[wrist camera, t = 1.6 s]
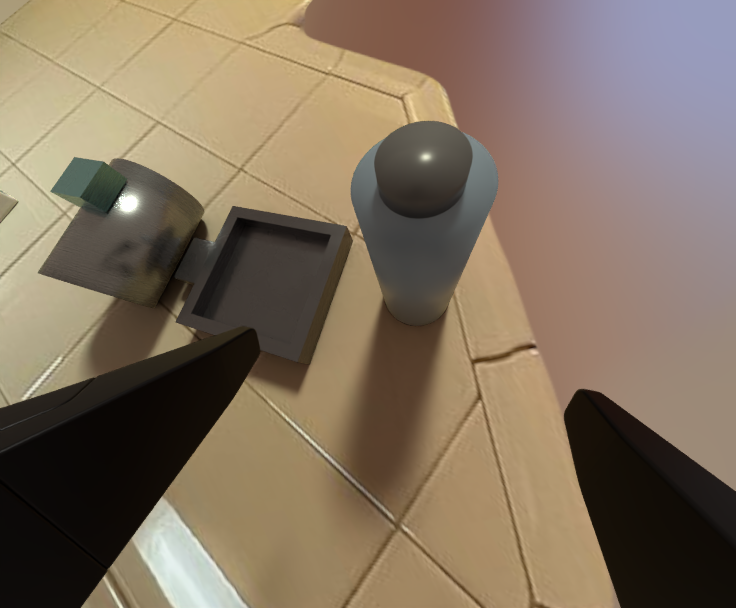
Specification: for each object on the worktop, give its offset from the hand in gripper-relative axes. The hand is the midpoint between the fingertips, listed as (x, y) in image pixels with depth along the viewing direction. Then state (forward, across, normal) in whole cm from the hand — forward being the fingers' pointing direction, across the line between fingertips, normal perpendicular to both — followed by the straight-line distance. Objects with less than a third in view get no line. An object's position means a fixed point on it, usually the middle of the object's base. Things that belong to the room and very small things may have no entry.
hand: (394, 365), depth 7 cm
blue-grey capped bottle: (+13, 0, +4) cm, 14 cm away
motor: (+13, +17, +4) cm, 22 cm away
